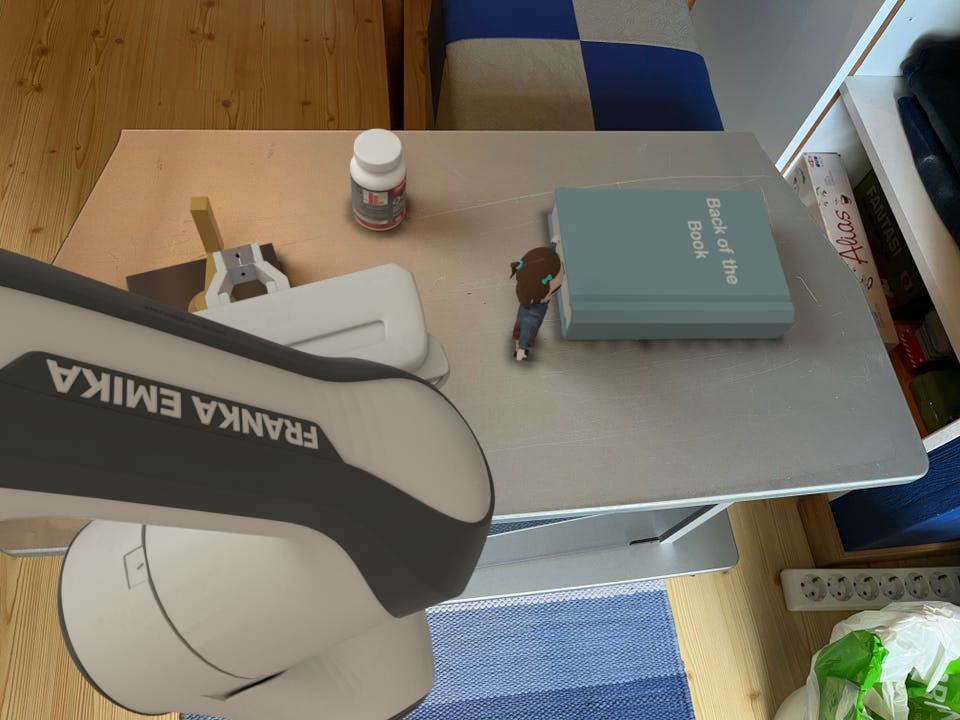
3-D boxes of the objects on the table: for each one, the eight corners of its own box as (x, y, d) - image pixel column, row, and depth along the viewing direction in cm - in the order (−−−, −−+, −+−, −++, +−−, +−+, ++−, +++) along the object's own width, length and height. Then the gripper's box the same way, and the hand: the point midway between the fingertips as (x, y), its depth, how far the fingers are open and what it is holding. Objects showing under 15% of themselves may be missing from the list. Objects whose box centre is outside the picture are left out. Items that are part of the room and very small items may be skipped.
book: (740, 220, 86) (759, 191, 81) (774, 342, 78) (797, 318, 74) (547, 217, 83) (555, 187, 78) (563, 343, 75) (574, 318, 71)
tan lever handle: (226, 319, 69) (209, 275, 63) (197, 320, 69) (177, 276, 63) (230, 244, 73) (214, 196, 67) (202, 245, 73) (184, 196, 66)
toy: (520, 412, 71) (548, 336, 58) (473, 398, 72) (491, 318, 58) (553, 297, 78) (586, 204, 65) (510, 284, 78) (534, 189, 65)
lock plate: (156, 398, 68) (146, 383, 66) (134, 293, 73) (124, 275, 70) (306, 357, 72) (302, 341, 69) (276, 259, 77) (271, 241, 74)
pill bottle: (404, 234, 80) (406, 170, 71) (351, 231, 79) (346, 167, 71) (406, 192, 83) (407, 126, 74) (354, 189, 82) (349, 122, 73)
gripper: (463, 366, 43) (390, 185, 48) (84, 477, 37) (51, 261, 43) (456, 410, 48) (390, 244, 54) (125, 513, 43) (91, 317, 49)
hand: (237, 252), depth 48 cm, fingers closed
